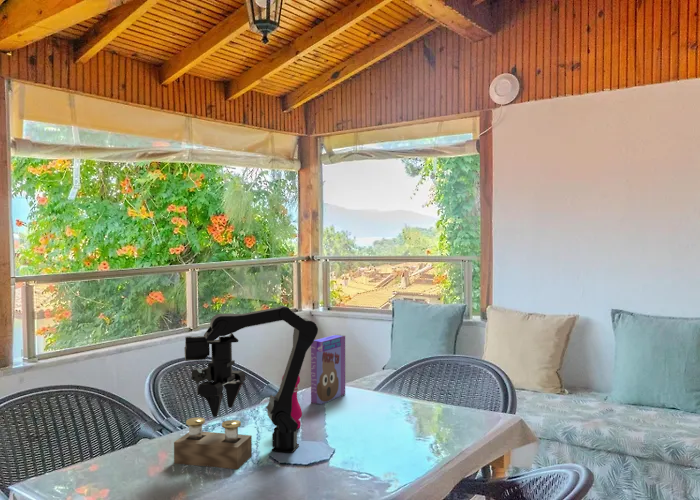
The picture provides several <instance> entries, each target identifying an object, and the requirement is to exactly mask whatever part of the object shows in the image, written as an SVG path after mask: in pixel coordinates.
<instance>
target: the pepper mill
mask: <svg viewBox="0 0 700 500" xmlns="http://www.w3.org/2000/svg"><path fill="white" fill-rule="evenodd" d="M283 376H284V374H283V375H282V377H281V380H282V379H283ZM300 382H301V377H300V375H299V376H298V380H297V383H296V386H295V389H294V392H293V395H292V411H291V416H292V417H293V419H294V420H295V421H296V423H297V424H298V427H297V430H298V429H300V428H301V420H300V419H301V418H302V416H303V412H302V407H301V405H300V403H299V401H298V400H299V399H298V392H299V387H300V386H299V385H300Z"/></svg>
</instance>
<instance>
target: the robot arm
mask: <svg viewBox="0 0 700 500" xmlns="http://www.w3.org/2000/svg"><path fill="white" fill-rule="evenodd" d="M279 321H284V322H285V323H286V324H288V325H289V326H291V327H292V328H293V334H292V347H291V352H290V355H289V358H288V361H287V363H286V368H285V369H284V374H283V375H284V376H283V375H282V377H283V379H282V378H281V383H280V386H279V389H278V391H277V393H276V394H275V395H274V396H273V395H269V401H268V404H266V405H267V406H266V407H265V409H267V410H266V411H267V412H266V413H267V416H268V418H269V420H270V421H271V423H272V424H273V425H274V426H275V427H274V428H273V433H272V434H271V437H272V441H271V442H272V443H271V446H272V448H271V451H272V452H280V453H290V452H292V453H294V452H295V451H296V449H297V448H298V447H299V446H300V444H299V443H298V429H297V427H298V424H297V423H296V421H295V420H294V419H293V417H292V416H291V411H292V395H293V392H294V389H295V386H296V383H297V380H298V376H299V377H300V373H301V370H302V367H303V363H304V361H305V358H306V355H307V351H308V350H309V349H310V348H311V345H312V343H313V341H314V340H316V337H317V335H318V333H319V329H318V326H317V324H316V322H315V321H312V320H310V319H309V318H305V317H304V318H303V317H301V316H300V315H298V314H296V313H295V312H294V311H293V310H291V308H289V307H287V306H286V305H279V306H278V307H272V308H267V309H261V310H255V311H249V312H246V313H245V312H244V313H218V314H215V315H213V316H212V317H211V319H210V324H209V325H210V326H209V327H208V329H207V330H206V332H205V333H204V334H203V335H200V336H185V341H184V342H185V343H184V344H185V345H184V361H185V362H191V361H201V360H204V361H205V360H206V359H207V358H208V357H210V355H211V361H210V362H208V364H207V367H205V368H202V369H201V368H200V367H198V368H195V369H192V370H191V374H190V375H191V377H190V378H191V380H192V381H194V382H195V384H196V385H197V384H199V385H198V386H197V387H196V394H197V396H198V395H199V396H200V397H202V398H204V399H205V400H206V401H207V404H208V407H209V409H210V412H211V415H212V417H214V418H217V417H218V415H219V412H220V409H221V408H220V407H221V404H222V401H223V397H224V393H223V390H224V389H225V394H226V400H227V401H226V402H227V406H228V408H231V409H232V408H233V406H234V404H235V401H236V399H237V397H238V394H239V392H240V390H241V388H242V386H243V385H244V382H245V381H246V373H245V372H244V371H243V370H233V366H234V365H235V363H236V361H235V360H234V359H233V353H232V352H233V351H232V350H233V349H232V348H233V346H232V344H233V343H239V339H238V338H237V337H236V336H235V335H234V333H236V332H238V331H240V330H242V329H245V328H248V327H255V326H260V325H264V324H265V325H266V324H270V323H275V322H279ZM210 345H211V350H210ZM210 351H211V352H210ZM210 353H211V354H210ZM206 380H207V381H206ZM203 381H204V382H203ZM201 382H202V383H201ZM293 451H294V452H293Z"/></svg>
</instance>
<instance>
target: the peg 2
mask: <svg viewBox="0 0 700 500" xmlns="http://www.w3.org/2000/svg"><path fill="white" fill-rule="evenodd" d="M241 422H242V421H241V420H237V419H229V420H225V421H223V422H222V423H221V427H222V428H223V429H224V433H225V443H237V442H238V434H239V428H241V426H242V423H241Z"/></svg>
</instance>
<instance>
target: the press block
mask: <svg viewBox="0 0 700 500" xmlns="http://www.w3.org/2000/svg"><path fill="white" fill-rule="evenodd" d="M252 437H253V436H252V435H251V434H250V435H249V434H239V433H238V442H237V443H225V432H224V433H223V432H213V431H202V439H200V440H189V432H187V433H186V434H184V435H182V436H181V437H179V438H178V439H176V440H174V441H173V464H175V465H176V464H177V465H179V464H180V465H188V466H201V467H210V468H222V469H229V470H230V469H232V470H238V469H239V468H241V467H242V466H243V465H244V464H245V463H246V462H247V461H248V460H249V459H251V457H252V455H253V452H252V451H253V449H252V447H253V446H252V443H253V439H252Z"/></svg>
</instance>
